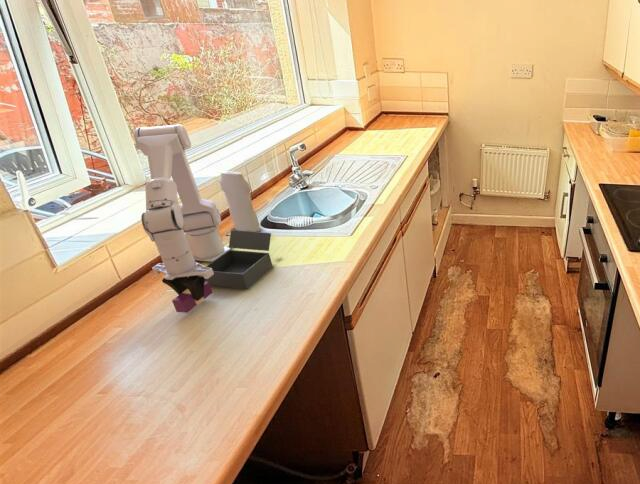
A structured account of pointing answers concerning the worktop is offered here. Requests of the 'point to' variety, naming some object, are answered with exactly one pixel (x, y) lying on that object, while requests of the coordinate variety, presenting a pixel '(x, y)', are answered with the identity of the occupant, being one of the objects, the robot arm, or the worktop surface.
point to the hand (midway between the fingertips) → (193, 297)
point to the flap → (250, 240)
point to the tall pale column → (239, 201)
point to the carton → (239, 268)
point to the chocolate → (190, 299)
